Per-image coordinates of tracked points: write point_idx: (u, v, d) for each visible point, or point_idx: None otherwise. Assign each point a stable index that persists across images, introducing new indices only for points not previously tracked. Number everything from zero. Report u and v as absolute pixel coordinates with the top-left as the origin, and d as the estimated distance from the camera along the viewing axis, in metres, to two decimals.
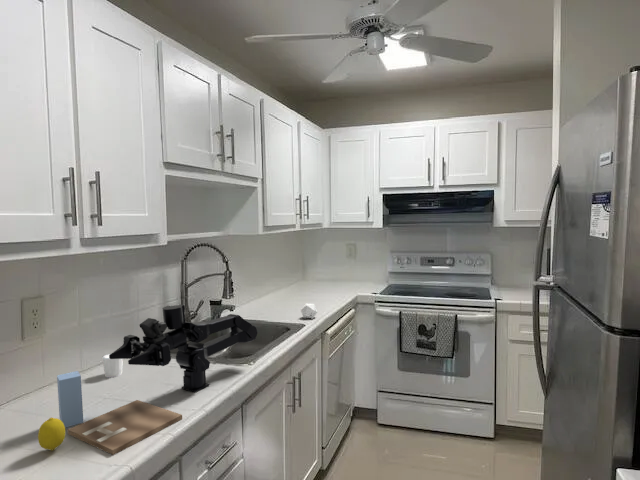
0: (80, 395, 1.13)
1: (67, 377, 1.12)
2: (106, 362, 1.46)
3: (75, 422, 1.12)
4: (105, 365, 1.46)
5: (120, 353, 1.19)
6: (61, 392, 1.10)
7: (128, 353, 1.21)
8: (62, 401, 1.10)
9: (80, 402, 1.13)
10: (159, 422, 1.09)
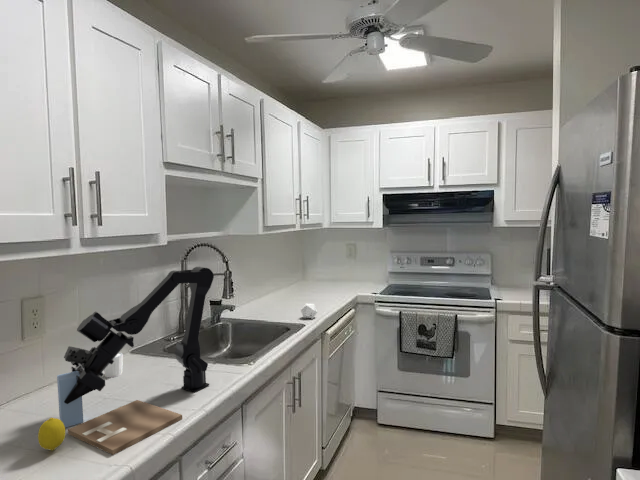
0: None
1: (67, 377, 1.12)
2: None
3: (75, 422, 1.12)
4: None
5: None
6: (61, 392, 1.10)
7: None
8: (62, 401, 1.10)
9: (80, 402, 1.13)
10: (159, 422, 1.09)
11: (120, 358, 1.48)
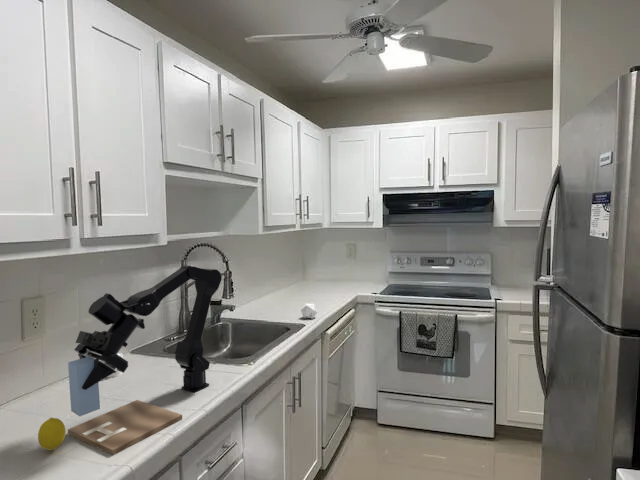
0: None
1: (83, 362, 1.06)
2: None
3: (92, 409, 1.07)
4: None
5: None
6: (78, 378, 1.04)
7: None
8: (79, 388, 1.04)
9: (97, 388, 1.08)
10: (159, 422, 1.09)
11: None
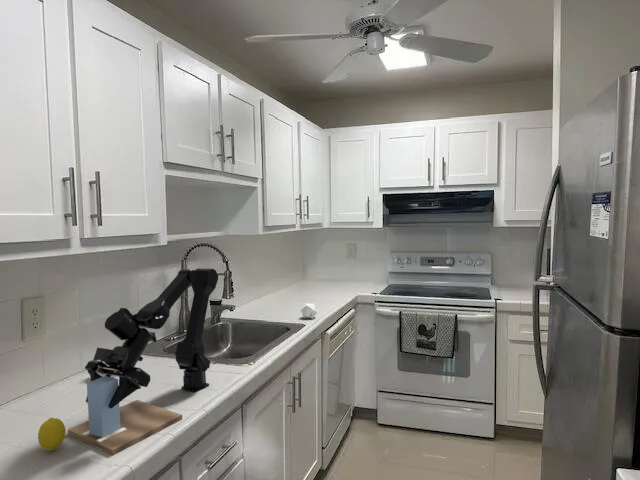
0: None
1: (104, 382, 1.04)
2: None
3: (114, 429, 1.05)
4: None
5: None
6: (102, 398, 1.02)
7: None
8: (103, 408, 1.02)
9: (117, 407, 1.06)
10: (159, 422, 1.09)
11: None
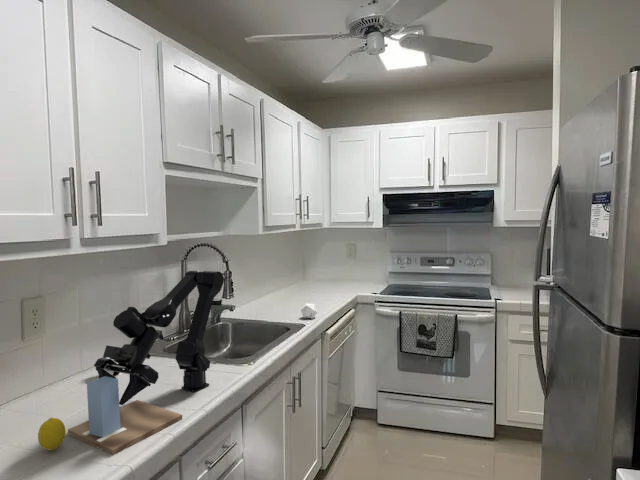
0: (117, 399, 1.06)
1: (104, 382, 1.04)
2: None
3: (114, 429, 1.05)
4: None
5: None
6: (102, 398, 1.02)
7: None
8: (103, 408, 1.02)
9: (117, 407, 1.06)
10: (159, 422, 1.09)
11: None
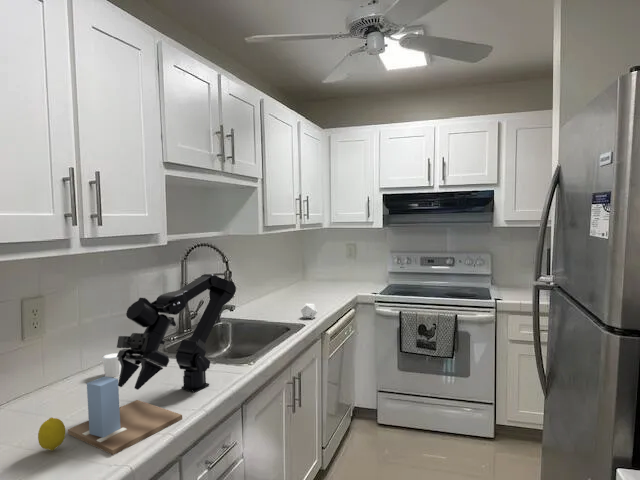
0: (117, 399, 1.06)
1: (104, 382, 1.04)
2: (106, 362, 1.46)
3: (114, 429, 1.05)
4: (105, 365, 1.46)
5: (125, 375, 1.17)
6: (102, 398, 1.02)
7: (132, 367, 1.19)
8: (103, 408, 1.02)
9: (117, 407, 1.06)
10: (159, 422, 1.09)
11: None
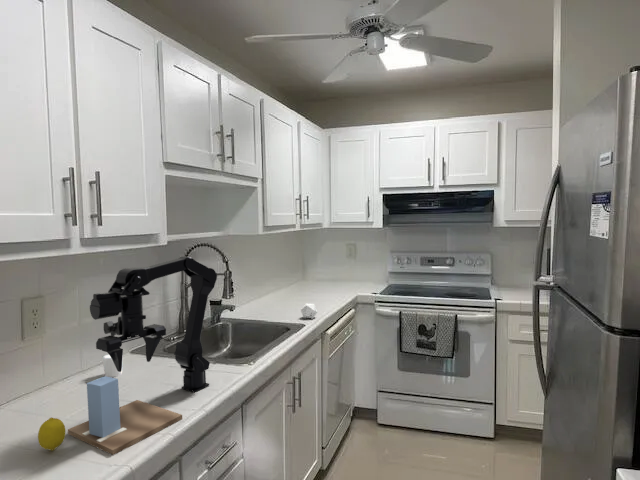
0: (117, 399, 1.06)
1: (104, 382, 1.04)
2: (106, 362, 1.46)
3: (114, 429, 1.05)
4: (105, 365, 1.46)
5: (148, 350, 1.23)
6: (102, 398, 1.02)
7: (151, 342, 1.22)
8: (103, 408, 1.02)
9: (117, 407, 1.06)
10: (159, 422, 1.09)
11: None
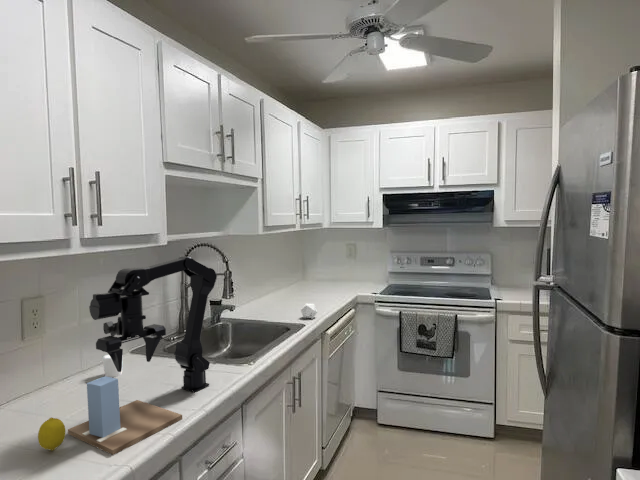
0: (117, 399, 1.06)
1: (104, 382, 1.04)
2: (106, 362, 1.46)
3: (114, 429, 1.05)
4: (105, 365, 1.46)
5: (148, 350, 1.23)
6: (102, 398, 1.02)
7: (151, 342, 1.22)
8: (103, 408, 1.02)
9: (117, 407, 1.06)
10: (159, 422, 1.09)
11: None
